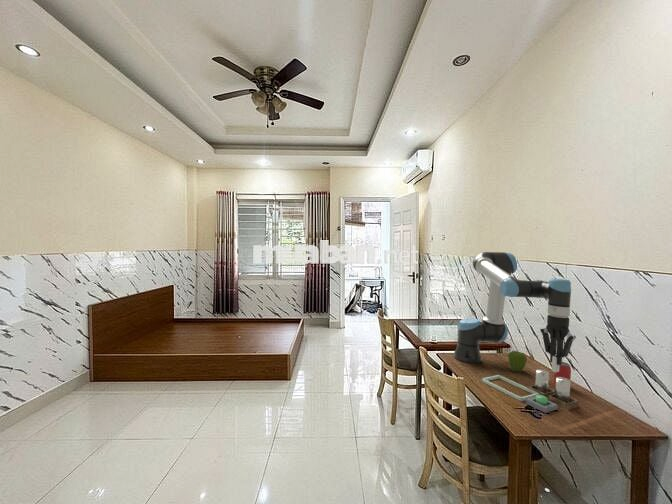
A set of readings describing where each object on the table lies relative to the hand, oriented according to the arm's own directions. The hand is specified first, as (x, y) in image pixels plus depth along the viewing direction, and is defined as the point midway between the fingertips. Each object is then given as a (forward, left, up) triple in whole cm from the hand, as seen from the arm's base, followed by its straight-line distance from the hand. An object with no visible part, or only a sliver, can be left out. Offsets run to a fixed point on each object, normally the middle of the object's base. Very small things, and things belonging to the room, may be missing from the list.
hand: (555, 371), depth 131 cm
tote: (-17, -4, -16) cm, 23 cm away
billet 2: (0, +6, -14) cm, 15 cm away
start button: (-1, -6, -14) cm, 15 cm away
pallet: (-4, +6, -16) cm, 17 cm away
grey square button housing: (-1, -6, -16) cm, 17 cm away
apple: (-31, +21, -16) cm, 40 cm away
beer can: (-10, +24, -16) cm, 30 cm away
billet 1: (-9, +6, -14) cm, 18 cm away
